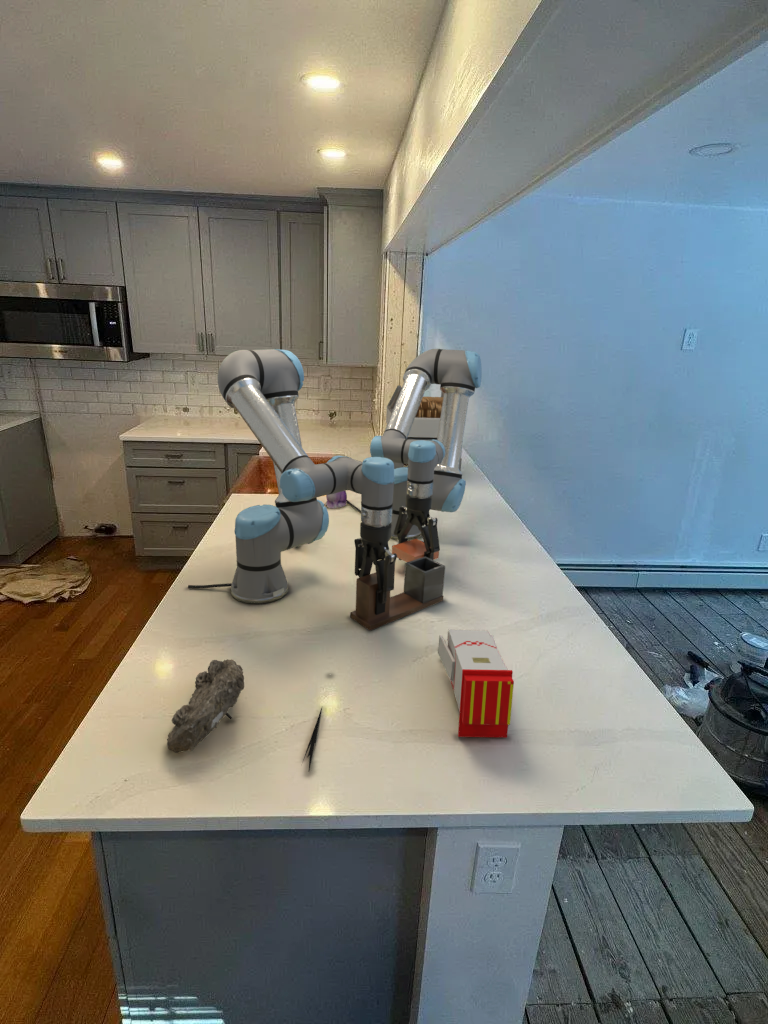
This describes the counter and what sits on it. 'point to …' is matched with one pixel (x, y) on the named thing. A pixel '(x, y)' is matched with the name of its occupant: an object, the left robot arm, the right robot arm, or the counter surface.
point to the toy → (478, 682)
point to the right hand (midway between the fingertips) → (414, 564)
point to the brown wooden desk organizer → (418, 594)
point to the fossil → (206, 705)
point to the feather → (313, 740)
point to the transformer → (421, 420)
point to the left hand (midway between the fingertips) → (372, 607)
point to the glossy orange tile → (411, 550)
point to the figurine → (336, 500)
